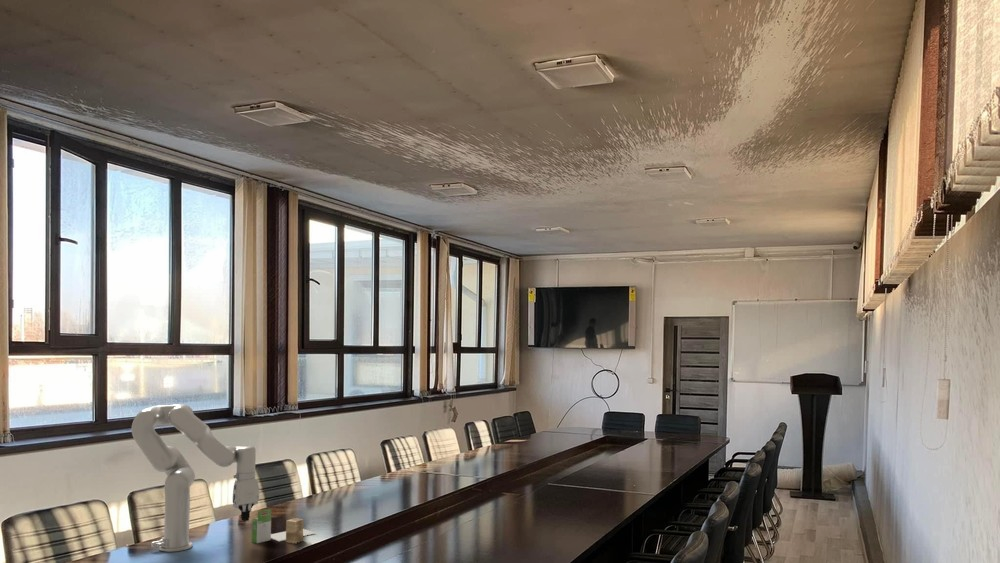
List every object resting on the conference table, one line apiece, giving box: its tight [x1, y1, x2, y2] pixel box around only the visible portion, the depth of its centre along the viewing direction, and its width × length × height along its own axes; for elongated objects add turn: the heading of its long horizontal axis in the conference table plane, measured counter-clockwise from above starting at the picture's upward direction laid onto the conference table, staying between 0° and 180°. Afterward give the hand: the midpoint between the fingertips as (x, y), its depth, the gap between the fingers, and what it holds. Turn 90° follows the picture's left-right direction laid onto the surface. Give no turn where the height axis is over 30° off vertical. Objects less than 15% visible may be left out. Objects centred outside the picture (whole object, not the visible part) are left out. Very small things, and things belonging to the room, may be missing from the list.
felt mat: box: [271, 528, 316, 543], centre depth 329 cm, size 18×12×1 cm, turn 135°
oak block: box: [285, 517, 304, 544], centre depth 320 cm, size 5×5×9 cm
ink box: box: [251, 508, 272, 544], centre depth 320 cm, size 7×4×13 cm, turn 141°
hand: (245, 520), depth 314 cm, fingers closed
